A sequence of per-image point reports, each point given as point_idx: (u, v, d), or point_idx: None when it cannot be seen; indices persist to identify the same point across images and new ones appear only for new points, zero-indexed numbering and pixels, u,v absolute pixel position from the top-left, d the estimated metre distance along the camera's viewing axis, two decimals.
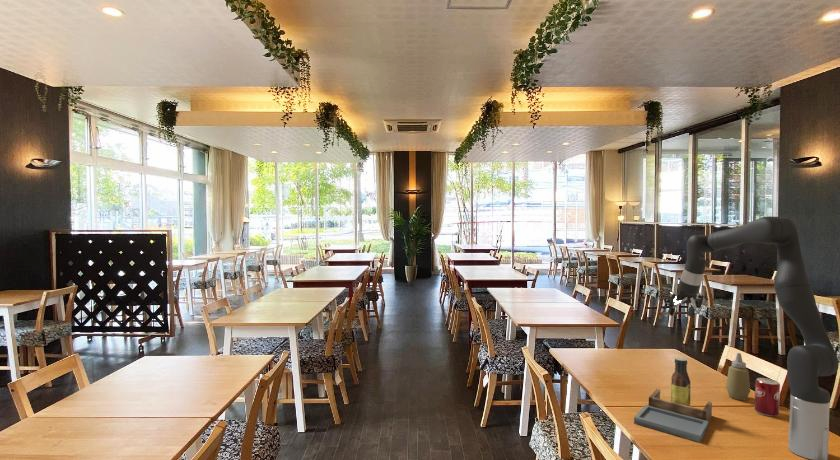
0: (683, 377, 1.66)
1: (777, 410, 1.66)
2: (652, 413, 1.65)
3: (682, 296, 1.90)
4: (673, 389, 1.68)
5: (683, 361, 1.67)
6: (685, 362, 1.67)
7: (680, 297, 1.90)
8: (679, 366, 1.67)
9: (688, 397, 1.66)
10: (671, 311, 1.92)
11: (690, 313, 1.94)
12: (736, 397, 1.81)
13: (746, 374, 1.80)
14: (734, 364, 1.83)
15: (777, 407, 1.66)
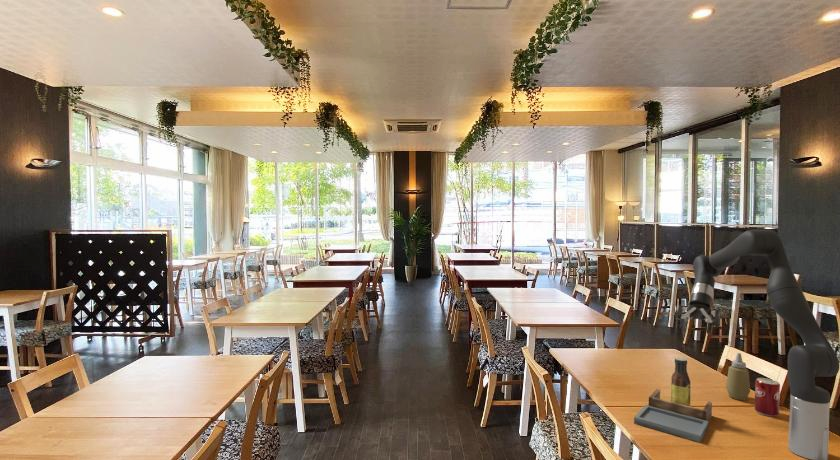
0: (683, 377, 1.66)
1: (777, 410, 1.66)
2: (652, 413, 1.65)
3: (691, 308, 1.81)
4: (673, 389, 1.68)
5: (683, 361, 1.67)
6: (685, 362, 1.67)
7: (689, 309, 1.81)
8: (679, 366, 1.67)
9: (688, 397, 1.66)
10: (680, 323, 1.79)
11: (707, 328, 1.73)
12: (736, 397, 1.81)
13: (746, 374, 1.80)
14: (734, 364, 1.83)
15: (777, 407, 1.66)
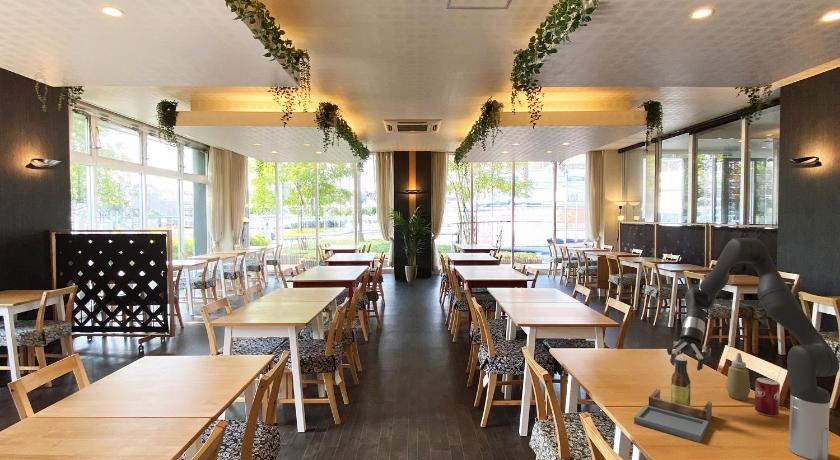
0: (683, 377, 1.66)
1: (777, 410, 1.66)
2: (652, 413, 1.65)
3: (682, 343, 1.79)
4: (673, 389, 1.68)
5: (683, 361, 1.67)
6: (685, 362, 1.67)
7: (680, 343, 1.79)
8: (679, 366, 1.67)
9: (688, 397, 1.66)
10: (671, 358, 1.77)
11: (697, 365, 1.71)
12: (736, 397, 1.81)
13: (746, 374, 1.80)
14: (734, 364, 1.83)
15: (777, 407, 1.66)
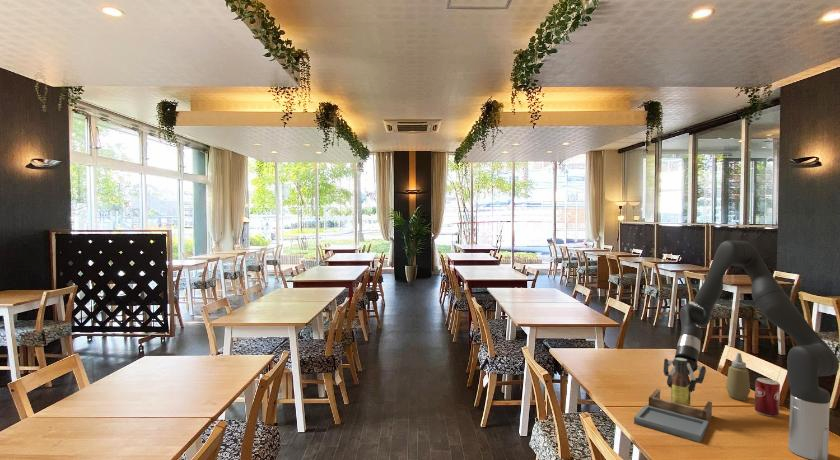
0: (683, 377, 1.66)
1: (777, 410, 1.66)
2: (652, 413, 1.65)
3: None
4: (673, 389, 1.68)
5: (683, 361, 1.67)
6: (685, 362, 1.67)
7: (674, 363, 1.74)
8: (680, 366, 1.67)
9: (688, 397, 1.66)
10: (668, 379, 1.71)
11: None
12: (736, 397, 1.81)
13: (746, 374, 1.80)
14: (734, 364, 1.83)
15: (777, 407, 1.66)
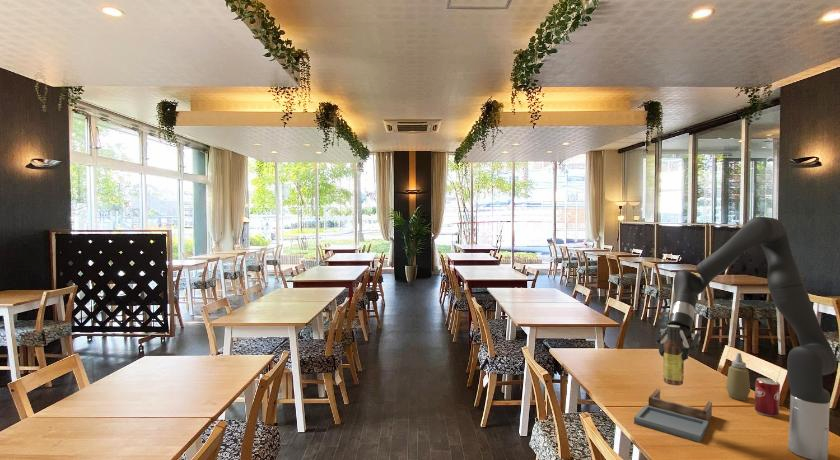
0: (676, 344, 1.56)
1: (777, 410, 1.66)
2: (652, 413, 1.65)
3: None
4: (665, 358, 1.58)
5: (676, 328, 1.56)
6: (678, 329, 1.56)
7: (667, 331, 1.63)
8: (672, 333, 1.57)
9: (681, 366, 1.55)
10: (660, 348, 1.61)
11: (683, 354, 1.56)
12: (736, 397, 1.81)
13: (746, 374, 1.80)
14: (734, 364, 1.83)
15: (777, 407, 1.66)
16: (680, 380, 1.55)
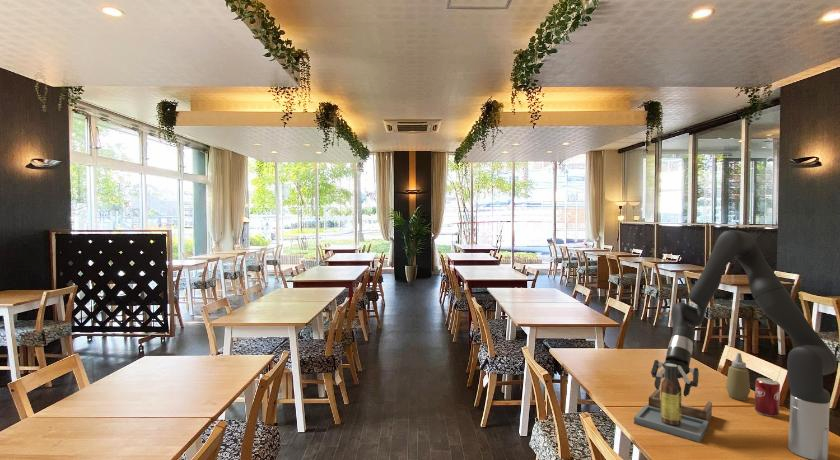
0: (673, 384, 1.55)
1: (777, 410, 1.66)
2: (652, 413, 1.65)
3: None
4: (663, 397, 1.57)
5: (673, 367, 1.56)
6: (675, 368, 1.56)
7: None
8: (670, 372, 1.57)
9: (679, 405, 1.55)
10: (656, 381, 1.61)
11: (684, 390, 1.55)
12: (736, 397, 1.81)
13: (746, 374, 1.80)
14: (734, 364, 1.83)
15: (777, 407, 1.66)
16: (677, 420, 1.55)
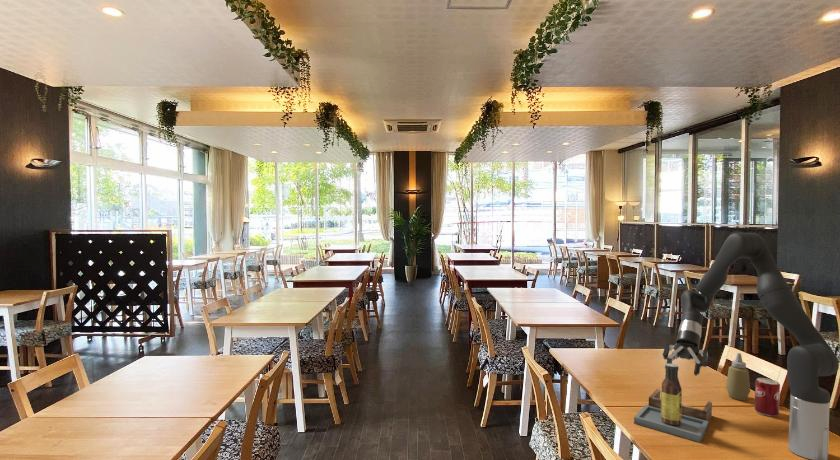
0: (674, 384, 1.55)
1: (777, 410, 1.66)
2: (652, 413, 1.65)
3: (678, 347, 1.73)
4: (663, 397, 1.57)
5: (674, 367, 1.56)
6: (676, 368, 1.56)
7: (676, 347, 1.73)
8: (670, 373, 1.56)
9: (679, 406, 1.55)
10: (667, 363, 1.71)
11: None
12: (736, 397, 1.81)
13: (746, 374, 1.80)
14: (734, 364, 1.83)
15: (777, 407, 1.66)
16: (677, 420, 1.55)
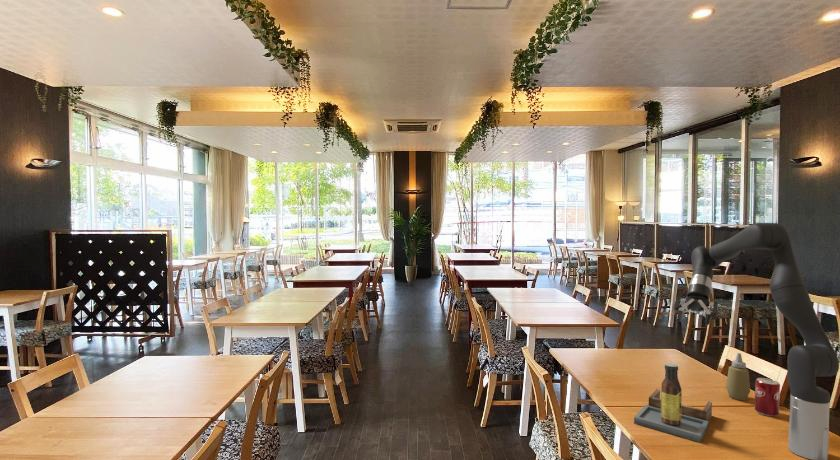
0: (674, 384, 1.55)
1: (777, 410, 1.66)
2: (652, 413, 1.65)
3: (689, 300, 1.77)
4: (663, 397, 1.57)
5: (674, 367, 1.56)
6: (676, 368, 1.56)
7: (687, 300, 1.77)
8: (670, 373, 1.56)
9: (679, 406, 1.55)
10: (678, 315, 1.75)
11: (705, 320, 1.69)
12: (736, 397, 1.81)
13: (746, 374, 1.80)
14: (734, 364, 1.83)
15: (777, 407, 1.66)
16: (677, 420, 1.55)
